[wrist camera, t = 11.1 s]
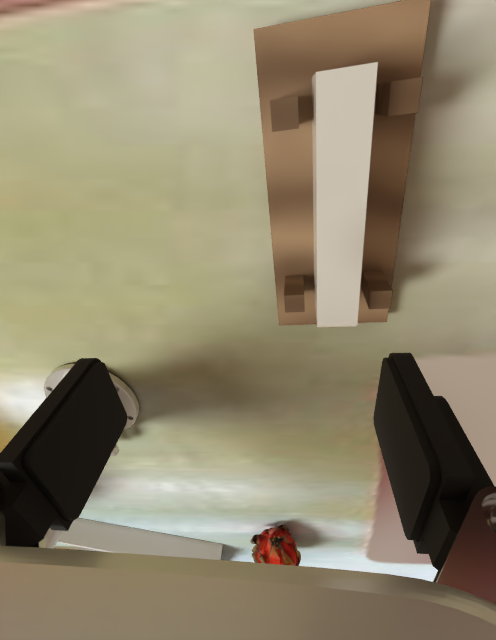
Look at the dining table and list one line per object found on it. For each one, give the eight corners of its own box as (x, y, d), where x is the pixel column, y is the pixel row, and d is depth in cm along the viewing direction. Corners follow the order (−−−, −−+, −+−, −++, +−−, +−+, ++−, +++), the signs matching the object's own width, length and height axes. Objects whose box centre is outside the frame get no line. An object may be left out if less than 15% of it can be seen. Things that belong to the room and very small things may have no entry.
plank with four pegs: (383, 313, 31) (396, 345, 27) (279, 316, 33) (277, 347, 29) (422, 1, 19) (457, -25, 15) (256, 33, 21) (246, 17, 17)
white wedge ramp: (223, 546, 74) (223, 542, 66) (219, 572, 71) (218, 571, 63) (80, 520, 75) (63, 513, 68) (69, 544, 72) (51, 540, 65)
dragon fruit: (271, 537, 65) (275, 499, 60) (307, 570, 60) (314, 531, 55) (242, 572, 59) (243, 533, 54) (278, 612, 54) (283, 573, 49)
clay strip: (348, 293, 29) (357, 325, 25) (314, 295, 29) (317, 327, 25) (361, 69, 20) (377, 62, 16) (311, 77, 20) (316, 71, 16)
